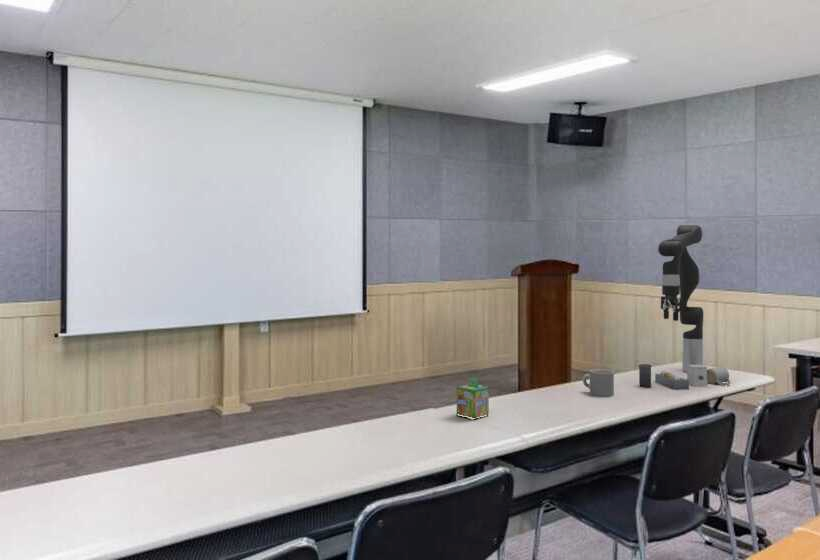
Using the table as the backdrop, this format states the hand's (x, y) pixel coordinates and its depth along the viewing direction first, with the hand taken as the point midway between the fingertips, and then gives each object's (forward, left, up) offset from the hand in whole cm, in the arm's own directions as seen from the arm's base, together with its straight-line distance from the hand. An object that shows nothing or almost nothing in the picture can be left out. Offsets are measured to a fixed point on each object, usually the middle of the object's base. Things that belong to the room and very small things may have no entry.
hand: (670, 319), depth 288 cm
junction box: (+1, +12, -31) cm, 33 cm away
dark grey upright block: (+1, -13, -30) cm, 33 cm away
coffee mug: (+10, -39, -31) cm, 50 cm away
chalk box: (+38, -101, -31) cm, 112 cm away
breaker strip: (0, 0, -30) cm, 30 cm away
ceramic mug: (0, +23, -31) cm, 39 cm away
